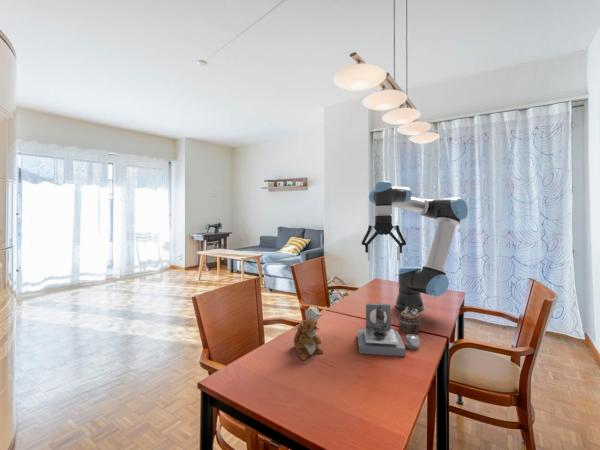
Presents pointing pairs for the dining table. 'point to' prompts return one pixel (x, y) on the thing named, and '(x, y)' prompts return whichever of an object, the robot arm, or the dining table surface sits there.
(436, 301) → the dining table surface
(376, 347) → the scale base
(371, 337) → the pan
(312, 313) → the game die
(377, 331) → the dark grey tall piece
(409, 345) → the spacer
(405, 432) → the dining table surface
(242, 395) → the dining table surface
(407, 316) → the cupcake
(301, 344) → the stuffed squirrel
